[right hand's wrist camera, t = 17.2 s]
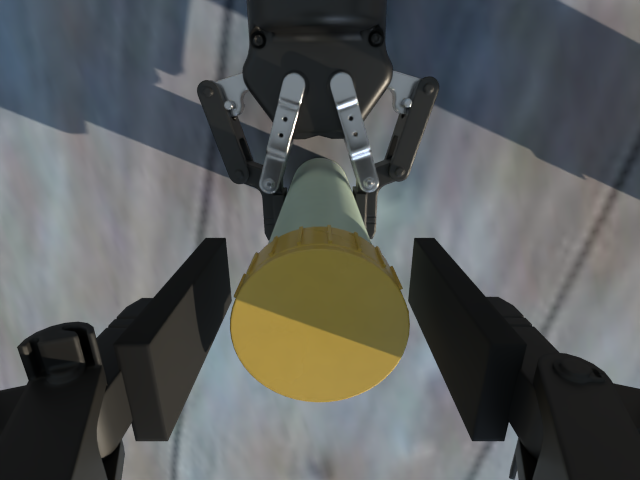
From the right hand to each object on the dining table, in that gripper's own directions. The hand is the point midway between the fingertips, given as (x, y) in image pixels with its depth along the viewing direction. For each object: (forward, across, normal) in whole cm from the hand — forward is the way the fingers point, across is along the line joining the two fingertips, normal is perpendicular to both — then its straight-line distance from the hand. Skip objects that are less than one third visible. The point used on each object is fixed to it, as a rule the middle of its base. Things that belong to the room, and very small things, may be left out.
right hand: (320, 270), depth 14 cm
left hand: (+10, 0, -3) cm, 10 cm away
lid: (-4, 0, 0) cm, 4 cm away
